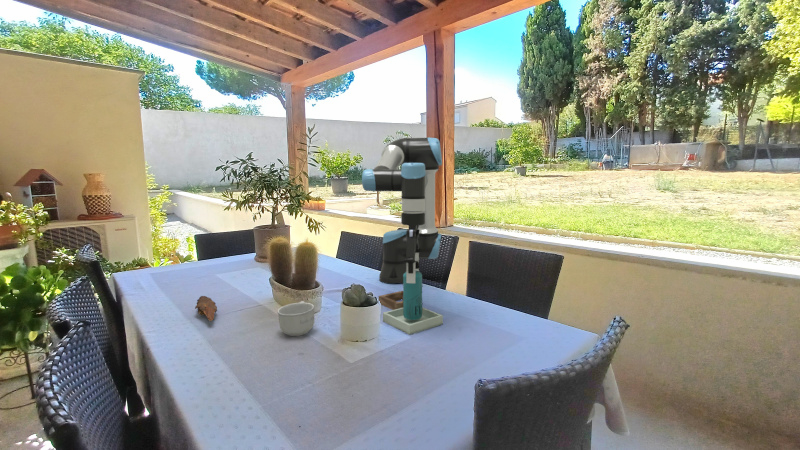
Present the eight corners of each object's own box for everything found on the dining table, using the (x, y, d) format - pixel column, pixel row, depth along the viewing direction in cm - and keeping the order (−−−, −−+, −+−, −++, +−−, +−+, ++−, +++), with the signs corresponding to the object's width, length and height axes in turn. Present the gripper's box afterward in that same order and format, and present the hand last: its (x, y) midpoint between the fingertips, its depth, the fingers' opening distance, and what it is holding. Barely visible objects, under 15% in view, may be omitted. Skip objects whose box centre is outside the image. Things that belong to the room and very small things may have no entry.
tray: (415, 312, 136) (415, 304, 136) (442, 324, 125) (442, 315, 125) (382, 321, 127) (382, 312, 127) (409, 335, 116) (409, 325, 116)
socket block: (402, 297, 152) (402, 290, 152) (421, 305, 143) (421, 297, 143) (378, 303, 145) (378, 296, 145) (397, 312, 136) (397, 303, 136)
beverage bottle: (415, 326, 122) (415, 264, 119) (398, 321, 126) (398, 261, 123) (426, 320, 127) (427, 260, 124) (410, 315, 131) (410, 258, 128)
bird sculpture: (202, 330, 120) (201, 314, 119) (190, 308, 140) (189, 295, 139) (225, 325, 124) (224, 310, 123) (210, 304, 144) (209, 291, 143)
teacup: (305, 341, 112) (304, 314, 111) (271, 338, 114) (270, 312, 113) (324, 323, 126) (323, 299, 125) (293, 321, 128) (292, 297, 127)
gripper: (405, 208, 134) (405, 267, 137) (396, 216, 110) (396, 288, 113) (427, 208, 133) (426, 267, 136) (422, 216, 109) (421, 289, 112)
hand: (412, 277), depth 125 cm, fingers open, 13 cm apart
